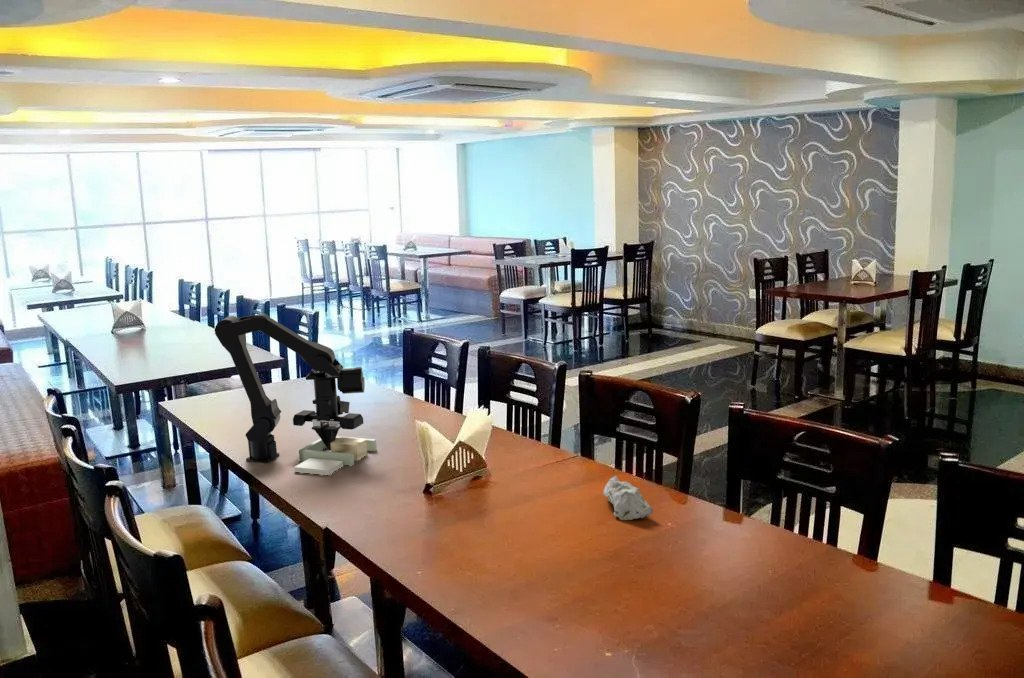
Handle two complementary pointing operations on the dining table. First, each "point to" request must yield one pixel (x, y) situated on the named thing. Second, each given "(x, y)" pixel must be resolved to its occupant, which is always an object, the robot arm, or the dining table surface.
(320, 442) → the shelf bay
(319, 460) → the stand
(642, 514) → the rock
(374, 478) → the dining table surface
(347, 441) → the block
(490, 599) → the dining table surface
